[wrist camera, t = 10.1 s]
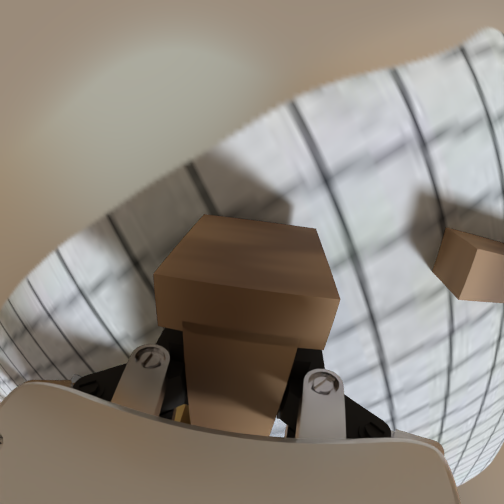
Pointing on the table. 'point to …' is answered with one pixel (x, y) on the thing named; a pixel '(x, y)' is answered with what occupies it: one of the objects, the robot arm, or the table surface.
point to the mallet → (244, 315)
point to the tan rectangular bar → (471, 266)
